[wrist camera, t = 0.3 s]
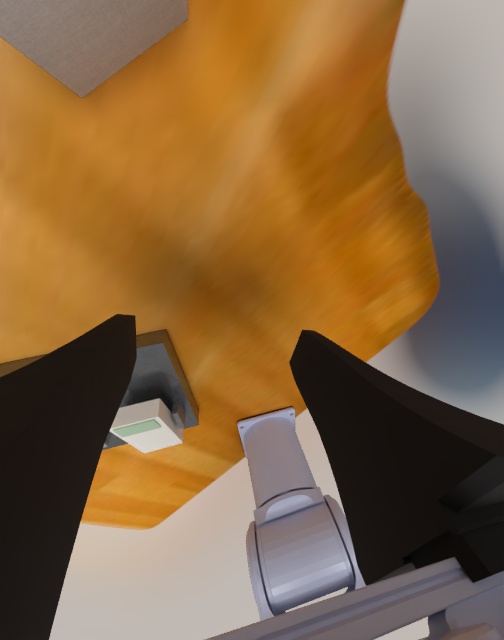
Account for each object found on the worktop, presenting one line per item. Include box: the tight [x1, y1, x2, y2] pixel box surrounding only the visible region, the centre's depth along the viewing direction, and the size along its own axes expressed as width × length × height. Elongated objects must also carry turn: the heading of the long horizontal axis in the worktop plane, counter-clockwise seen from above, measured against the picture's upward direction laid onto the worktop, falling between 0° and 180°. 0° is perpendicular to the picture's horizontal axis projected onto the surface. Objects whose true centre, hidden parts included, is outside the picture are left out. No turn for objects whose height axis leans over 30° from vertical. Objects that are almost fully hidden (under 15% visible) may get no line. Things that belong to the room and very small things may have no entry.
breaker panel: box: [0, 330, 199, 450], centre depth 20 cm, size 12×16×4 cm
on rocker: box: [110, 398, 183, 453], centre depth 20 cm, size 7×4×2 cm, turn 7°
